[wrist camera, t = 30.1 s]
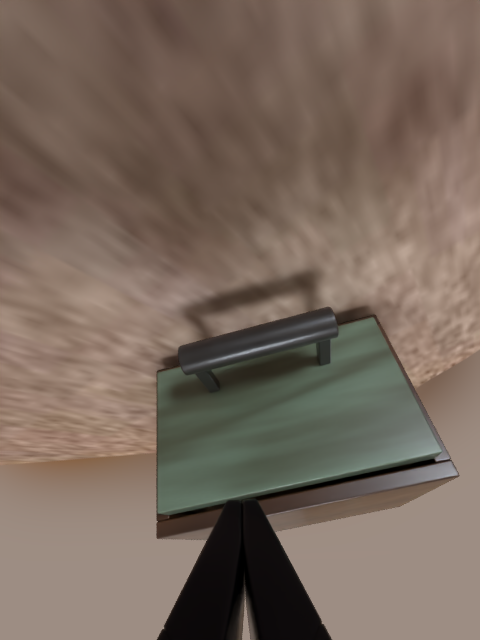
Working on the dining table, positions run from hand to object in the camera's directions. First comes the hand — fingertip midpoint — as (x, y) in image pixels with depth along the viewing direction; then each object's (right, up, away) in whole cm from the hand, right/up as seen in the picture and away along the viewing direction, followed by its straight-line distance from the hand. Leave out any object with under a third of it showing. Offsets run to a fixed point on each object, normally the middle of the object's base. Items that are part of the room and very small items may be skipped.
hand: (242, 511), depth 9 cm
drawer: (+2, +1, +13) cm, 13 cm away
